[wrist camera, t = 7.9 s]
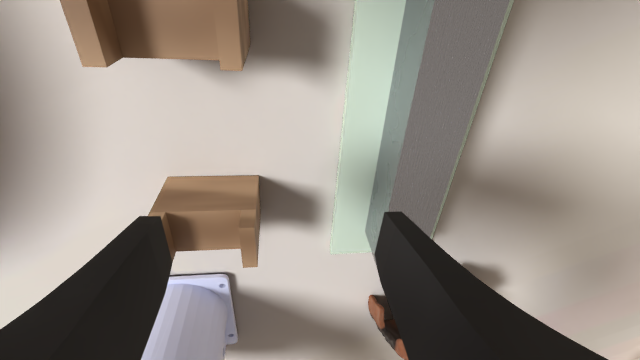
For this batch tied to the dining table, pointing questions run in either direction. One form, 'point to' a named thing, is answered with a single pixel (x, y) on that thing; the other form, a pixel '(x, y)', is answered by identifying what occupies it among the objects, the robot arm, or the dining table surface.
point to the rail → (430, 105)
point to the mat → (372, 117)
